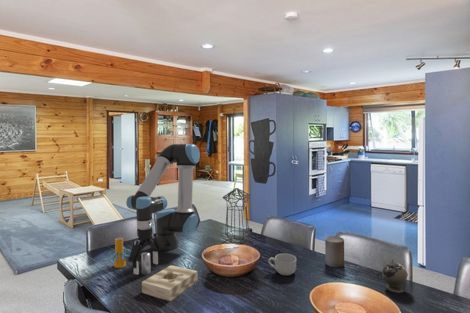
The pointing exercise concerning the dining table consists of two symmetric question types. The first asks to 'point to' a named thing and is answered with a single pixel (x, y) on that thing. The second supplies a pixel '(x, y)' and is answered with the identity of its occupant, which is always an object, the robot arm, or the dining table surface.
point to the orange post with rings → (119, 254)
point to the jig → (169, 282)
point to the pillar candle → (334, 251)
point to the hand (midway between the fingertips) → (146, 268)
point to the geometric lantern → (234, 213)
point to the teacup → (284, 264)
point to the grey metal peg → (146, 263)
